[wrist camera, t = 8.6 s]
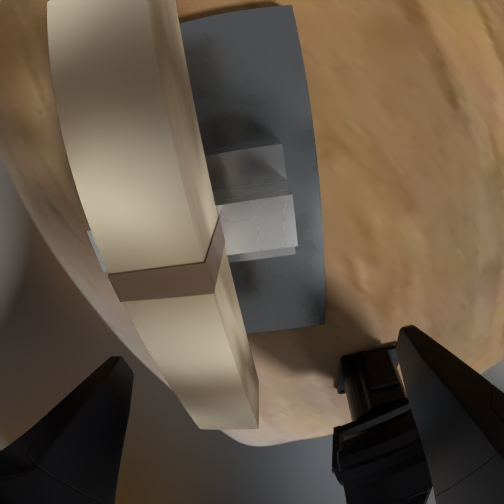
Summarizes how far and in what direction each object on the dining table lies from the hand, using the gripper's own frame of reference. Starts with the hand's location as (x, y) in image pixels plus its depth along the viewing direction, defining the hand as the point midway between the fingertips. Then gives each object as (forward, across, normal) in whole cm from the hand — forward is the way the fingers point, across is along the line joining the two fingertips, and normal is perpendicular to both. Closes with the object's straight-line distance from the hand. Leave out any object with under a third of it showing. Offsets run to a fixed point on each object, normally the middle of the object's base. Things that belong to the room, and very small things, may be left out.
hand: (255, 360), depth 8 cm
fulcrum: (+12, +3, -2) cm, 12 cm away
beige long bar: (+6, +3, -2) cm, 7 cm away
